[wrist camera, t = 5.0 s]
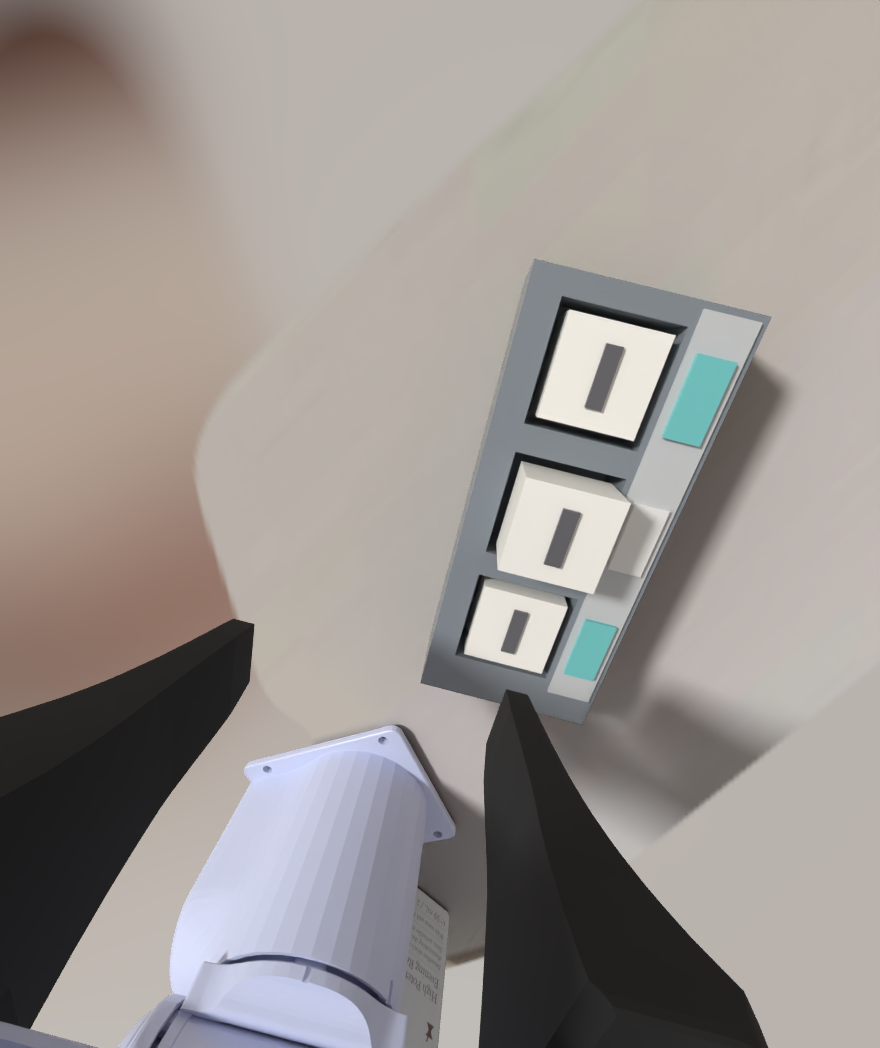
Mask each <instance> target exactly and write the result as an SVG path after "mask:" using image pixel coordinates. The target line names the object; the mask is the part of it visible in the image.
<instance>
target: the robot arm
mask: <svg viewBox="0 0 880 1048" xmlns="http://www.w3.org/2000/svg"><path fill="white" fill-rule="evenodd" d="M253 635H254V624H252V623H248V622H244V621H240V620H236V619H232V620H230V621H228V622H226V623H224V624H222V625H220V626H218V627H216V628H215V629H213V630H211V631H209V632H207V633H205V634H203V635H201V636H199V637H197V638H195V639H193V640H192V641H190V642H188V643H186V644H184V645H182V646H180V647H178V648H176V649H174V650H172V651H170V652H168V653H166V654H164V655H162V656H160V657H158V658H155V659H153V660H151V661H149V662H147V663H145V664H143V665H140V666H138V667H136V668H134V669H132V670H130V671H127V672H125V673H123V674H121V675H118V676H116V677H114V678H111V679H109V680H107V681H104V682H101V683H99V684H96V685H94V686H91V687H89V688H86V689H83V690H81V691H78V692H75V693H73V694H70V695H67V696H65V697H62V698H59V699H56V700H53V701H49V702H46V703H44V704H40V705H37V706H34V707H31V708H28V709H25V710H22V711H18V712H15V713H12V714H9V715H6V716H3V717H0V1048H97V1047H93V1046H90V1045H86V1044H82V1043H79V1042H75V1041H71V1040H68V1039H64V1038H60V1037H56V1036H53V1035H49V1034H45V1033H42V1032H38V1031H35V1030H31V1029H30V1028H31V1026H32V1025H33V1023H34V1021H35V1019H36V1017H37V1015H38V1013H39V1012H40V1010H41V1008H42V1006H43V1004H44V1003H45V1001H46V999H47V997H48V996H49V994H50V992H51V990H52V988H53V987H54V985H55V983H56V981H57V979H58V978H59V976H60V974H61V972H62V970H63V969H64V967H65V965H66V963H67V961H68V960H69V958H70V956H71V954H72V952H73V951H74V949H75V947H76V946H77V944H78V942H79V941H80V939H81V937H82V935H83V934H84V932H85V930H86V929H87V927H88V925H89V923H90V922H91V920H92V918H93V917H94V915H95V913H96V911H97V910H98V908H99V906H100V904H101V903H102V901H103V899H104V898H105V896H106V894H107V892H108V891H109V889H110V888H111V886H112V884H113V883H114V881H115V879H116V878H117V876H118V875H119V873H120V871H121V870H122V868H123V866H124V865H125V863H126V862H127V860H128V858H129V857H130V855H131V853H132V852H133V850H134V848H135V847H136V845H137V844H138V842H139V841H140V839H141V837H142V836H143V834H144V833H145V831H146V829H147V828H148V826H149V825H150V823H151V822H152V820H153V818H154V817H155V815H156V814H157V812H158V811H159V809H160V808H161V806H162V805H163V803H164V802H165V801H166V799H167V798H168V796H169V795H170V794H171V792H172V791H173V789H174V788H175V787H176V785H177V784H178V783H179V781H180V780H181V779H182V778H183V776H184V775H185V774H186V772H187V771H188V770H189V768H190V767H191V766H192V764H193V763H194V761H195V760H196V759H197V758H198V756H199V755H200V754H201V752H202V751H203V750H204V749H205V747H206V746H207V745H208V743H209V742H210V741H211V739H212V738H213V737H214V736H215V734H216V733H217V732H218V730H219V729H220V728H221V726H222V725H223V724H224V722H225V721H226V720H227V718H228V717H229V715H230V714H231V712H232V711H233V709H234V707H235V706H236V704H237V702H238V701H239V699H240V697H241V696H242V694H243V692H244V690H245V689H246V687H247V685H248V683H249V681H250V669H251V658H252V647H253ZM382 737H385V738H382ZM244 772H245V775H246V776H247V778H248V779H249V781H250V782H251V783H250V785H249V787H248V789H247V791H246V792H245V794H244V796H243V798H242V800H241V801H240V803H239V805H238V807H237V809H236V810H235V812H234V814H233V816H232V818H231V820H230V821H229V823H228V825H227V827H226V828H225V830H224V832H223V834H222V835H221V837H220V839H219V841H218V843H217V844H216V846H215V848H214V850H213V852H212V853H211V855H210V857H209V859H208V861H207V862H206V864H205V866H204V868H203V870H202V872H201V873H200V875H199V877H198V879H197V880H196V882H195V884H194V886H193V888H192V889H191V891H190V893H189V895H188V897H187V899H186V901H185V903H184V906H183V909H182V911H181V914H180V917H179V920H178V923H177V927H176V930H175V934H174V939H173V944H172V950H171V957H170V982H171V987H172V992H173V994H172V995H169V996H167V997H166V998H165V999H164V1000H162V1001H161V1002H160V1003H159V1004H158V1005H157V1006H156V1007H155V1008H154V1009H153V1010H152V1011H150V1012H149V1013H148V1014H146V1015H145V1016H144V1017H142V1018H141V1019H140V1020H139V1021H138V1022H137V1023H136V1024H135V1026H134V1027H133V1028H132V1029H131V1030H130V1032H129V1033H128V1034H127V1036H126V1037H125V1038H124V1040H123V1041H122V1042H121V1044H120V1045H119V1047H118V1048H405V1045H406V1036H407V1028H408V1020H409V1017H408V1016H407V1015H406V1014H404V1013H401V1005H402V998H403V990H404V983H405V975H406V968H407V960H408V953H409V945H410V938H411V930H412V923H413V915H414V908H415V901H416V893H417V886H418V878H419V871H420V863H421V856H422V848H423V843H428V842H433V841H439V840H444V839H450V838H452V837H453V836H455V832H456V826H455V824H454V822H453V820H452V819H451V817H450V815H449V813H448V811H447V810H446V808H445V806H444V804H443V803H442V801H441V799H440V797H439V795H438V794H437V792H436V790H435V788H434V786H433V785H432V783H431V781H430V779H429V777H428V776H427V774H426V772H425V770H424V769H423V767H422V765H421V763H420V761H419V760H418V758H417V756H416V754H415V752H414V751H413V749H412V747H411V745H410V744H409V742H408V740H407V738H406V736H405V735H404V733H403V731H402V730H401V729H400V728H399V727H397V726H394V725H392V726H386V727H382V728H379V729H375V730H371V731H367V732H363V733H359V734H355V735H351V736H347V737H343V738H340V739H336V740H332V741H328V742H324V743H320V744H316V745H312V746H309V747H305V748H301V749H297V750H293V751H289V752H285V753H281V754H278V755H273V756H270V757H266V758H262V759H258V760H254V761H251V762H249V763H248V764H247V765H246V767H245V769H244ZM484 805H485V830H486V855H487V915H486V937H485V956H484V974H483V992H482V1007H481V1008H482V1009H481V1022H480V1036H479V1048H768V1046H767V1044H766V1041H765V1038H764V1036H763V1033H762V1031H761V1028H760V1026H759V1023H758V1021H757V1019H756V1017H755V1014H754V1012H753V1010H752V1008H751V1006H750V1003H749V1001H748V999H747V997H746V995H745V993H744V991H743V990H742V989H741V988H740V987H739V986H738V985H737V984H736V983H735V982H734V981H733V980H732V979H731V978H730V977H729V976H728V975H727V974H726V973H725V972H724V971H723V970H722V969H721V968H720V967H719V966H718V965H717V963H715V961H713V959H712V958H711V957H710V956H709V955H708V954H707V953H706V952H705V951H704V950H703V949H702V948H701V947H700V946H699V945H698V944H697V943H696V942H695V941H694V940H693V939H692V938H691V937H690V936H689V935H688V934H687V932H686V931H685V930H684V929H683V928H682V927H681V926H680V925H679V924H678V922H677V921H676V920H675V919H674V918H673V917H672V916H671V915H670V913H669V912H668V911H667V910H666V909H665V908H664V907H663V906H662V904H661V903H660V902H659V901H658V900H657V899H656V897H655V896H654V895H653V894H652V893H651V891H650V890H648V888H647V887H646V886H645V884H644V883H643V882H642V881H641V879H640V878H639V877H638V876H637V874H636V873H635V872H634V870H633V869H632V868H631V867H630V865H629V864H628V863H627V862H626V860H625V859H624V858H623V857H622V855H621V854H620V853H619V851H618V850H617V849H616V847H615V846H614V845H613V843H612V842H611V840H610V839H609V838H608V836H607V835H606V833H605V832H604V830H603V829H602V828H601V826H600V825H599V823H598V822H597V820H596V819H595V817H594V816H593V815H592V813H591V812H590V810H589V808H588V807H587V805H586V804H585V802H584V800H583V799H582V797H581V795H580V794H579V792H578V790H577V789H576V787H575V785H574V784H573V782H572V780H571V779H570V777H569V775H568V773H567V772H566V770H565V768H564V766H563V764H562V762H561V760H560V759H559V757H558V755H557V753H556V751H555V749H554V747H553V745H552V743H551V741H550V740H549V738H548V736H547V733H546V731H545V729H544V727H543V725H542V723H541V721H540V719H539V717H538V715H537V713H536V710H535V708H534V706H533V704H532V702H531V700H530V698H529V696H528V695H527V694H523V693H519V692H516V691H512V690H508V689H506V691H505V693H504V696H503V699H502V702H501V704H500V707H499V710H498V713H497V715H496V718H495V721H494V724H493V727H492V729H491V732H490V735H489V738H488V740H487V743H486V756H485V769H484Z"/></svg>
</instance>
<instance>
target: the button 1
mask: <svg viewBox="0 0 880 1048" xmlns="http://www.w3.org/2000/svg"><path fill="white" fill-rule="evenodd" d="M567 608H568V606H567V603H566V600H565V597H564V596H562V595H558V594H554V593H550V592H546V591H542V590H538V589H534V588H530V587H526V586H523V585H519V584H515V583H511V582H507V581H503V580H499V579H495V578H491V577H487V576H483V575H481V576H480V580H479V583H478V586H477V590H476V593H475V596H474V600H473V603H472V606H471V610H470V613H469V616H468V620H467V624H466V637H465V649H464V654H466V655H470V656H474V657H478V658H482V659H486V660H489V661H493V662H497V663H501V664H505V665H509V666H513V667H517V668H521V669H524V670H528V671H532V672H536V673H540V674H542V671H543V669H544V666H545V664H546V661H547V659H548V656H549V654H550V651H551V649H552V646H553V644H554V641H555V639H556V636H557V634H558V631H559V628H560V626H561V623H562V621H563V618H564V616H565V613H566V611H567Z"/></svg>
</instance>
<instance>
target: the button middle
mask: <svg viewBox="0 0 880 1048" xmlns="http://www.w3.org/2000/svg"><path fill="white" fill-rule="evenodd" d="M630 505H631V503H630V502H629V501H628V500H627V499H626V498H625V497H624V496H623V495H622V494H621V493H620V492H619V491H618V490H617V489H616V488H615V487H614V486H613V485H612V484H611V483H607V482H603V481H599V480H595V479H591V478H587V477H583V476H579V475H575V474H571V473H567V472H563V471H559V470H555V469H552V468H548V467H544V466H540V465H536V464H532V463H528V462H524V461H521V464H520V467H519V470H518V474H517V477H516V480H515V483H514V487H513V490H512V493H511V497H510V500H509V503H508V506H507V510H506V513H505V516H504V519H503V523H502V526H501V529H500V533H499V536H498V539H497V542H496V547H497V569H498V570H499V571H503V572H507V573H511V574H515V575H519V576H523V577H527V578H531V579H535V580H539V581H543V582H547V583H551V584H554V585H558V586H562V587H566V588H570V589H574V590H578V591H582V592H586V593H590V594H594V592H595V589H596V587H597V584H598V582H599V580H600V577H601V575H602V572H603V570H604V568H605V565H606V563H607V560H608V558H609V556H610V553H611V551H612V548H613V546H614V544H615V541H616V539H617V536H618V534H619V532H620V529H621V527H622V524H623V522H624V520H625V517H626V515H627V512H628V510H629V508H630Z"/></svg>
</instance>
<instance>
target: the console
mask: <svg viewBox="0 0 880 1048" xmlns="http://www.w3.org/2000/svg"><path fill="white" fill-rule="evenodd" d="M568 310H574V311H578V312H582V313H587V314H591V315H595V316H599V317H603V318H607V319H611V320H615V321H619V322H623V323H627V324H631V325H635V326H639V327H643V328H648V329H652V330H656V331H660V332H664V333H668V334H672V335H676V336H675V338H674V341H673V344H672V346H671V349H670V351H669V354H668V356H667V359H666V361H665V364H664V366H663V369H662V371H661V374H660V376H659V379H658V381H657V384H656V386H655V389H654V391H653V394H652V397H651V399H650V402H649V404H648V407H647V409H646V412H645V414H644V417H643V419H642V422H641V424H640V427H639V429H638V432H637V434H636V437H635V439H634V441H631V440H627V439H623V438H619V437H615V436H611V435H607V434H603V433H599V432H595V431H591V430H587V429H583V428H579V427H575V426H571V425H567V424H563V423H559V422H555V421H551V420H547V419H543V418H539V417H536V415H535V414H534V413H533V412H532V411H531V406H532V403H533V400H534V396H535V393H536V390H537V386H538V383H539V380H540V376H541V373H542V370H543V366H544V363H545V360H546V356H547V353H548V350H549V346H550V343H551V340H552V336H553V333H554V330H555V326H556V323H557V320H558V316H560V315H561V314H563V313H565V312H566V311H568ZM770 320H771V317H770V316H766V315H762V314H758V313H754V312H750V311H746V310H741V309H737V308H733V307H729V306H725V305H721V304H717V303H713V302H709V301H705V300H701V299H696V298H692V297H688V296H684V295H680V294H676V293H672V292H668V291H664V290H660V289H656V288H651V287H647V286H643V285H639V284H635V283H631V282H627V281H623V280H619V279H615V278H611V277H606V276H602V275H598V274H594V273H590V272H586V271H582V270H578V269H574V268H570V267H566V266H561V265H557V264H553V263H549V262H545V261H541V260H537V259H534V261H533V263H532V266H531V268H530V270H529V272H528V274H527V276H526V279H525V283H524V286H523V290H522V294H521V298H520V301H519V305H518V309H517V313H516V316H515V320H514V324H513V328H512V331H511V335H510V339H509V343H508V346H507V350H506V354H505V358H504V361H503V365H502V369H501V373H500V376H499V380H498V384H497V388H496V391H495V395H494V399H493V403H492V406H491V410H490V414H489V418H488V421H487V425H486V429H485V433H484V436H483V440H482V444H481V448H480V451H479V455H478V459H477V463H476V467H475V470H474V474H473V478H472V482H471V485H470V489H469V493H468V497H467V500H466V504H465V508H464V512H463V515H462V519H461V523H460V527H459V530H458V534H457V538H456V542H455V545H454V549H453V553H452V557H451V560H450V564H449V568H448V572H447V575H446V579H445V583H444V587H443V590H442V594H441V598H440V602H439V605H438V609H437V613H436V617H435V620H434V624H433V628H432V632H431V635H430V639H429V644H428V649H427V654H426V659H425V664H424V668H423V673H422V678H421V683H423V684H426V685H430V686H434V687H438V688H442V689H446V690H450V691H454V692H457V693H461V694H465V695H469V696H473V697H477V698H481V699H485V700H488V701H492V702H496V703H500V704H501V702H502V699H503V696H504V693H505V691H506V689H508V690H512V691H516V692H519V693H523V694H527V695H528V696H529V698H530V700H531V702H532V704H533V706H534V708H535V710H536V713H539V714H543V715H547V716H550V717H554V718H558V719H562V720H566V721H570V722H574V723H577V724H581V725H582V724H583V722H584V719H585V717H586V715H587V713H588V711H589V709H590V706H591V704H592V702H593V700H594V698H595V696H596V694H597V691H598V689H599V687H600V685H601V683H602V681H603V679H604V676H605V674H606V672H607V670H608V668H609V666H610V663H611V661H612V659H613V657H614V655H615V653H616V651H617V648H618V646H619V644H620V642H621V640H622V638H623V636H624V633H625V631H626V629H627V627H628V625H629V623H630V620H631V618H632V616H633V614H634V612H635V610H636V608H637V605H638V603H639V601H640V599H641V597H642V595H643V593H644V590H645V588H646V586H647V584H648V582H649V580H650V577H651V575H652V573H653V571H654V569H655V567H656V565H657V562H658V560H659V558H660V556H661V554H662V552H663V550H664V547H665V545H666V543H667V541H668V539H669V537H670V534H671V532H672V530H673V528H674V526H675V524H676V522H677V519H678V517H679V515H680V513H681V511H682V509H683V507H684V504H685V502H686V500H687V498H688V496H689V494H690V492H691V489H692V487H693V485H694V483H695V481H696V479H697V476H698V474H699V472H700V470H701V468H702V466H703V464H704V461H705V459H706V457H707V455H708V453H709V451H710V449H711V446H712V444H713V442H714V440H715V438H716V436H717V433H718V431H719V429H720V427H721V425H722V423H723V421H724V418H725V416H726V414H727V412H728V410H729V408H730V406H731V403H732V401H733V399H734V397H735V395H736V393H737V390H738V388H739V386H740V384H741V382H742V380H743V378H744V375H745V373H746V371H747V369H748V367H749V365H750V363H751V360H752V358H753V356H754V354H755V352H756V350H757V347H758V345H759V343H760V341H761V339H762V337H763V335H764V332H765V330H766V328H767V326H768V324H769V322H770ZM521 461H524V462H528V463H532V464H536V465H540V466H544V467H548V468H552V469H555V470H559V471H563V472H567V473H571V474H575V475H579V476H583V477H587V478H591V479H595V480H599V481H603V482H607V483H611V484H612V485H613V486H614V487H615V488H616V489H617V490H618V491H619V492H620V493H621V494H622V495H623V496H624V497H625V498H626V499H627V500H628V501H629V502H630V503H631V505H630V508H629V510H628V512H627V515H626V517H625V520H624V522H623V524H622V527H621V529H620V532H619V534H618V536H617V539H616V541H615V544H614V546H613V548H612V551H611V553H610V556H609V558H608V560H607V563H606V565H605V568H604V570H603V572H602V575H601V577H600V580H599V582H598V584H597V587H596V589H595V592H594V594H590V593H586V592H582V591H578V590H574V589H570V588H566V587H562V586H558V585H554V584H551V583H547V582H543V581H539V580H535V579H531V578H527V577H523V576H519V575H515V574H511V573H507V572H503V571H499V570H498V569H497V547H496V542H497V539H498V536H499V533H500V529H501V526H502V523H503V519H504V516H505V513H506V510H507V506H508V503H509V500H510V497H511V493H512V490H513V487H514V483H515V480H516V477H517V474H518V470H519V467H520V464H521ZM481 575H483V576H487V577H491V578H495V579H499V580H503V581H507V582H511V583H515V584H519V585H523V586H526V587H530V588H534V589H538V590H542V591H546V592H550V593H554V594H558V595H562V596H564V597H565V600H566V603H567V606H568V608H567V611H566V613H565V616H564V618H563V621H562V623H561V626H560V628H559V631H558V634H557V636H556V639H555V641H554V644H553V646H552V649H551V651H550V654H549V656H548V659H547V661H546V664H545V666H544V669H543V671H542V674H540V673H536V672H532V671H528V670H524V669H521V668H517V667H513V666H509V665H505V664H501V663H497V662H493V661H489V660H486V659H482V658H478V657H474V656H470V655H466V654H464V649H465V637H466V624H467V620H468V616H469V613H470V610H471V606H472V603H473V600H474V596H475V593H476V590H477V586H478V583H479V580H480V576H481Z"/></svg>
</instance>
